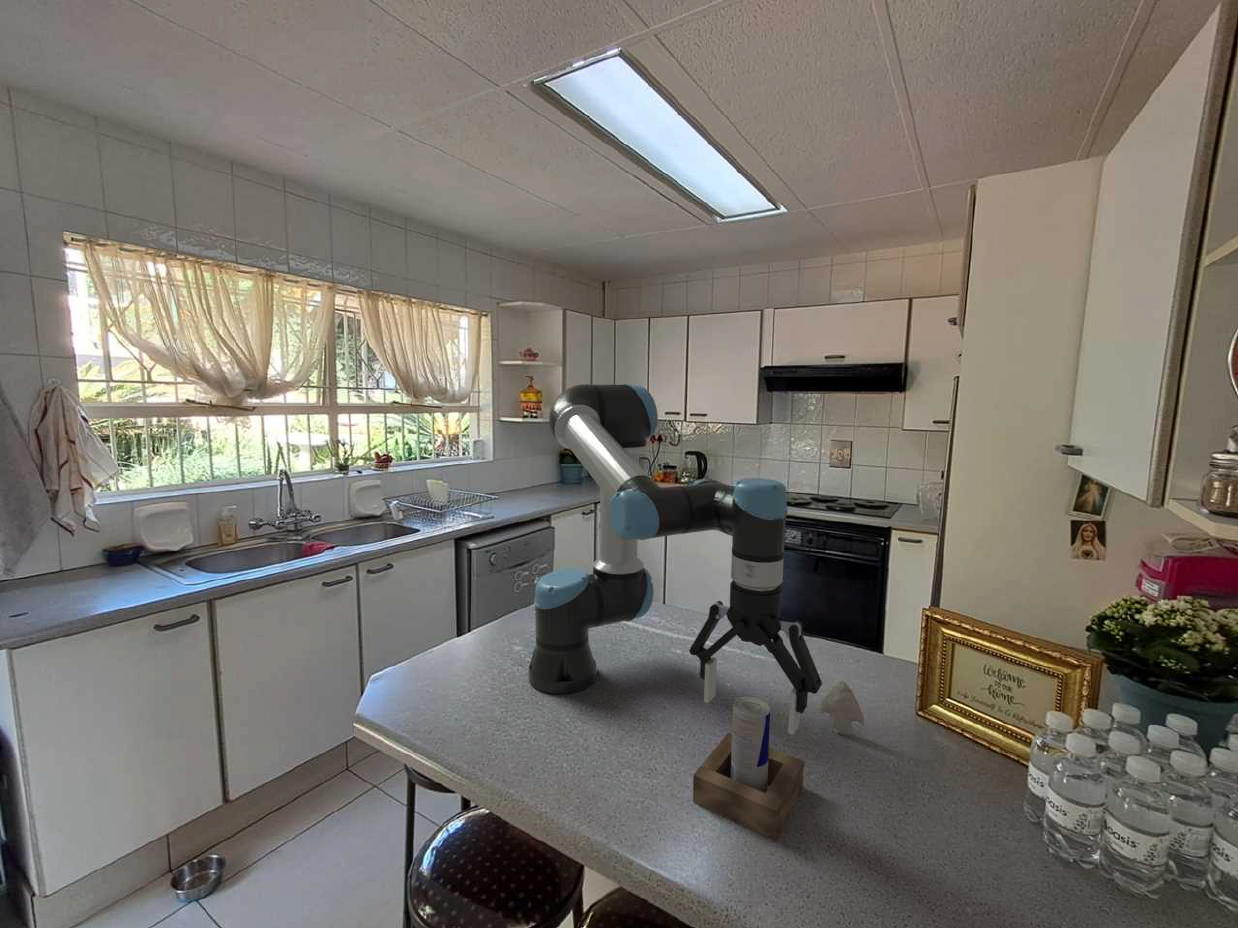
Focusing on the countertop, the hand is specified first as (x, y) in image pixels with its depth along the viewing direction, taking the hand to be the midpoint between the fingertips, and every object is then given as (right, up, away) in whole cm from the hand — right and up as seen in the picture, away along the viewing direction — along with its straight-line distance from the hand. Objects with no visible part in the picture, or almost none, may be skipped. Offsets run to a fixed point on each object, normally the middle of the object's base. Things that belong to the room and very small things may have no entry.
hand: (749, 713), depth 85 cm
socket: (0, -13, +1) cm, 13 cm away
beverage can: (0, -13, +1) cm, 14 cm away
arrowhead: (+21, -12, +17) cm, 29 cm away
